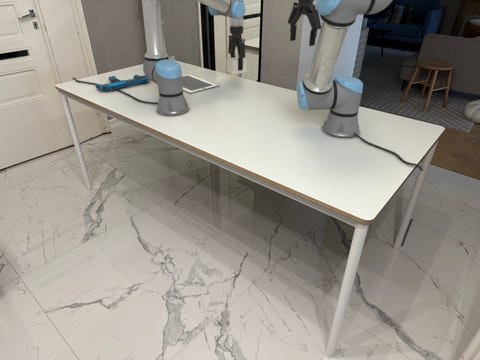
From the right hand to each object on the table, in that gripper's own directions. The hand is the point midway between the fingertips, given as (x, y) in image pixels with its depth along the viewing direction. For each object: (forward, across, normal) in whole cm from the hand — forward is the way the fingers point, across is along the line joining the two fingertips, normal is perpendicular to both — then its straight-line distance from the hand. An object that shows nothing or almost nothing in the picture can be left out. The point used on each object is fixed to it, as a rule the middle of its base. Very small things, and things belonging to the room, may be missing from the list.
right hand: (302, 43), depth 157 cm
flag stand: (+31, +112, +27) cm, 119 cm away
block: (+22, +44, +9) cm, 51 cm away
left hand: (+20, +44, +9) cm, 50 cm away
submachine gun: (+31, +86, +64) cm, 111 cm away
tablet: (+31, +65, +30) cm, 78 cm away
